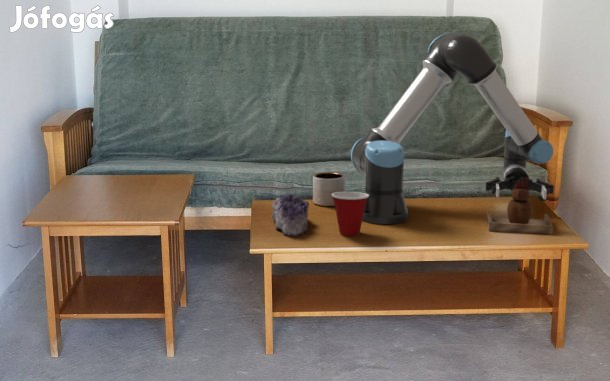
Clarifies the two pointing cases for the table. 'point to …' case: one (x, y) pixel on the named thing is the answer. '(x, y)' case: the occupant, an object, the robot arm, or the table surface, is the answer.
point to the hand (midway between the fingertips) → (521, 193)
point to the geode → (291, 215)
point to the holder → (520, 225)
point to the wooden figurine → (519, 204)
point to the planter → (327, 187)
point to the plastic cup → (349, 211)
